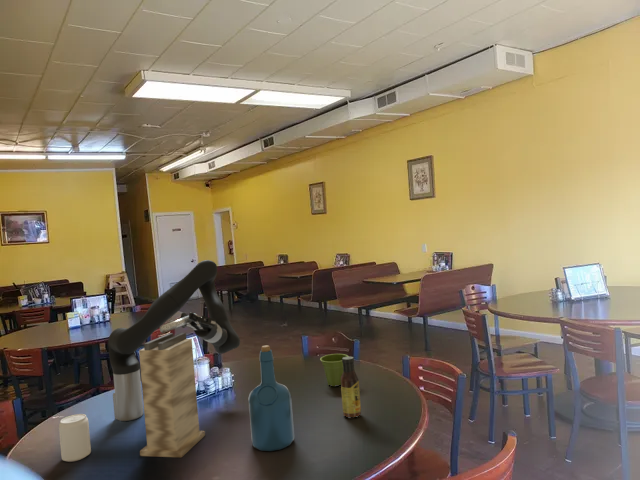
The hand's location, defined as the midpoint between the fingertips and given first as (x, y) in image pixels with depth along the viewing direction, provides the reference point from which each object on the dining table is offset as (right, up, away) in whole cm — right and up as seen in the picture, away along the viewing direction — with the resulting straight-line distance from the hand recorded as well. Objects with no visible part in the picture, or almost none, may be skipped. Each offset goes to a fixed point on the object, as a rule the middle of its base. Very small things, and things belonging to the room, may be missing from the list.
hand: (186, 315), depth 161 cm
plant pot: (+53, -34, +33) cm, 71 cm away
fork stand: (0, -39, -13) cm, 41 cm away
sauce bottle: (+57, -34, -1) cm, 67 cm away
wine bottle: (+32, -37, -17) cm, 51 cm away
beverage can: (-30, -42, -16) cm, 53 cm away
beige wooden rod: (-1, -3, -4) cm, 5 cm away
